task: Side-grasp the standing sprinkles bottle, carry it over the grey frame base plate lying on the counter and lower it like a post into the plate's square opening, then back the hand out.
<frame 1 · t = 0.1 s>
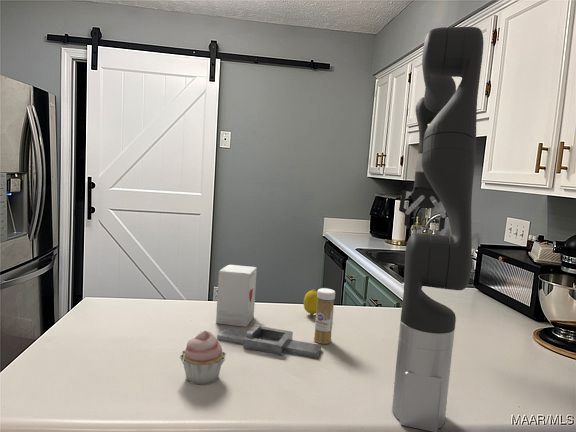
hand: (423, 229, 116), 29 cm above the counter, tool pointing down, fingers open, 8 cm apart
lemon: (311, 315, 126), on the counter
sprinkles bottle: (322, 341, 107), on the counter
grey frame base plate: (268, 344, 102), on the counter
cupcake: (202, 378, 84), on the counter
supplement box: (235, 320, 118), on the counter
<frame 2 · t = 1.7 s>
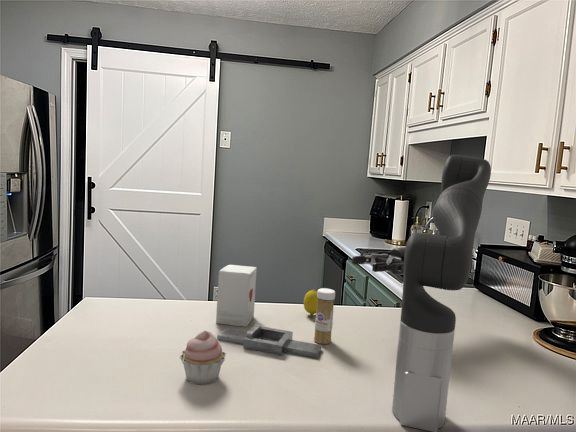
hand: (362, 263, 110), 20 cm above the counter, tool horizontal, fingers open, 8 cm apart
nothing on the counter moved.
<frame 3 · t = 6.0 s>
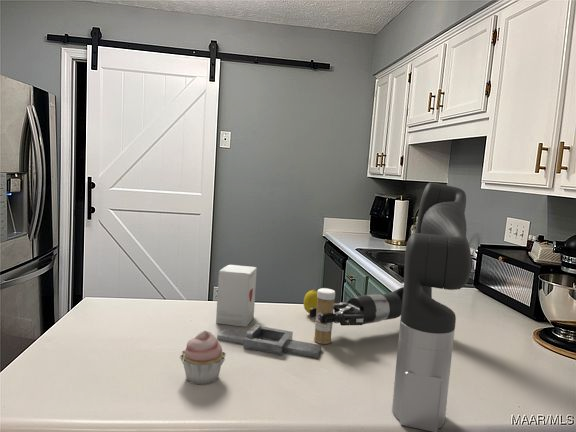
hand: (315, 315, 105), 7 cm above the counter, tool horizontal, fingers closed on sprinkles bottle, 4 cm apart
sprinkles bottle: (322, 341, 107), on the counter, touching gripper
everything else where it was.
when the fingers open (8 cm above the counter, at t = 11.2 s): sprinkles bottle drops 1 cm, resting in grey frame base plate.
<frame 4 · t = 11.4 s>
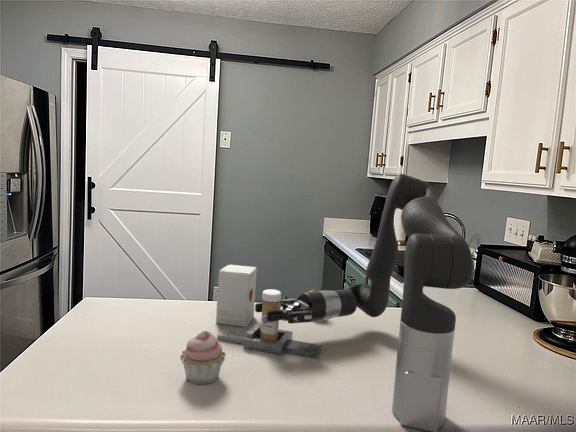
hand: (261, 312, 100), 9 cm above the counter, tool horizontal, fingers open, 6 cm apart
sprinkles bottle: (268, 344, 103), resting in grey frame base plate
everything else where it was.
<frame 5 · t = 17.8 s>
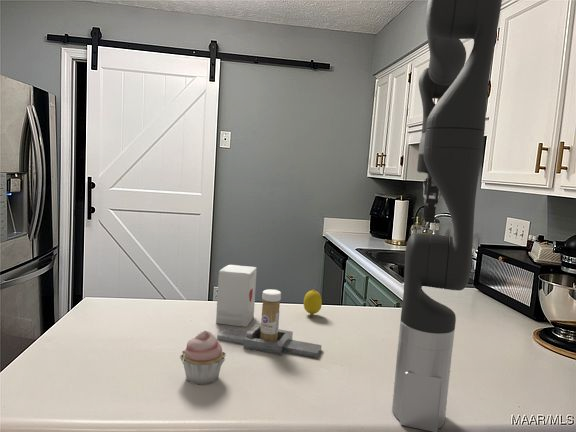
hand: (428, 220, 101), 33 cm above the counter, tool pointing down, fingers open, 8 cm apart
nothing on the counter moved.
at the end: sprinkles bottle 0.2 cm from the grey frame base plate (horizontally); sprinkles bottle tilted 0°; the gripper is holding nothing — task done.
